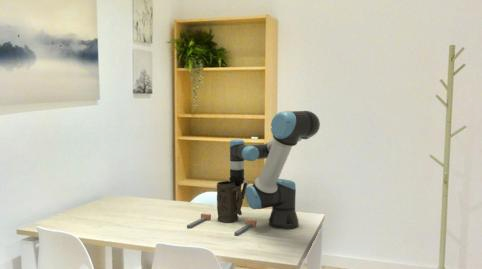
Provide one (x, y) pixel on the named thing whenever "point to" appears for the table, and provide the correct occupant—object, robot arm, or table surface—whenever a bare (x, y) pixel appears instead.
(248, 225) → the grey and brown bars
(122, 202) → the table surface
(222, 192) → the beer stein
